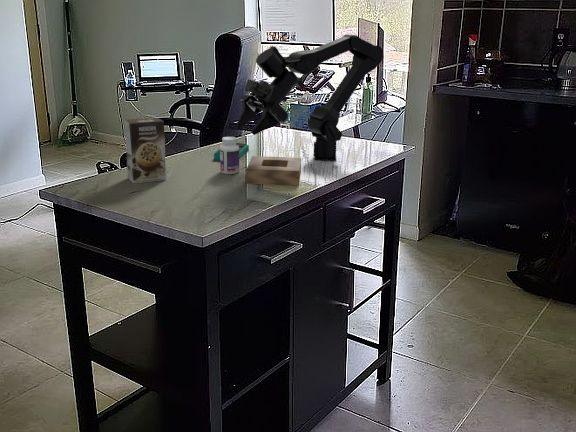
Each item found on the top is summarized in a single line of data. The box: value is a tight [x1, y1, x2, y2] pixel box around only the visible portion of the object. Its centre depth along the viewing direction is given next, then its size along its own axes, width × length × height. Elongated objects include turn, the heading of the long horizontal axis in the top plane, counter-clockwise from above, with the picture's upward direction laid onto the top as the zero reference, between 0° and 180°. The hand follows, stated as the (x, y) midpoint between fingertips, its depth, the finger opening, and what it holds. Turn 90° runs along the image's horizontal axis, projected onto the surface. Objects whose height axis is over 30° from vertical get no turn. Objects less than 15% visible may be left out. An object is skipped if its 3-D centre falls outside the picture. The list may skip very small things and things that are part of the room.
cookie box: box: [124, 117, 167, 184], centre depth 169 cm, size 9×6×16 cm
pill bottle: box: [219, 136, 240, 175], centre depth 179 cm, size 5×5×10 cm
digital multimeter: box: [213, 142, 250, 161], centre depth 198 cm, size 7×15×3 cm, turn 168°
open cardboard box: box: [245, 155, 302, 186], centre depth 175 cm, size 14×14×4 cm
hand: (244, 130), depth 179 cm, fingers open, 9 cm apart
